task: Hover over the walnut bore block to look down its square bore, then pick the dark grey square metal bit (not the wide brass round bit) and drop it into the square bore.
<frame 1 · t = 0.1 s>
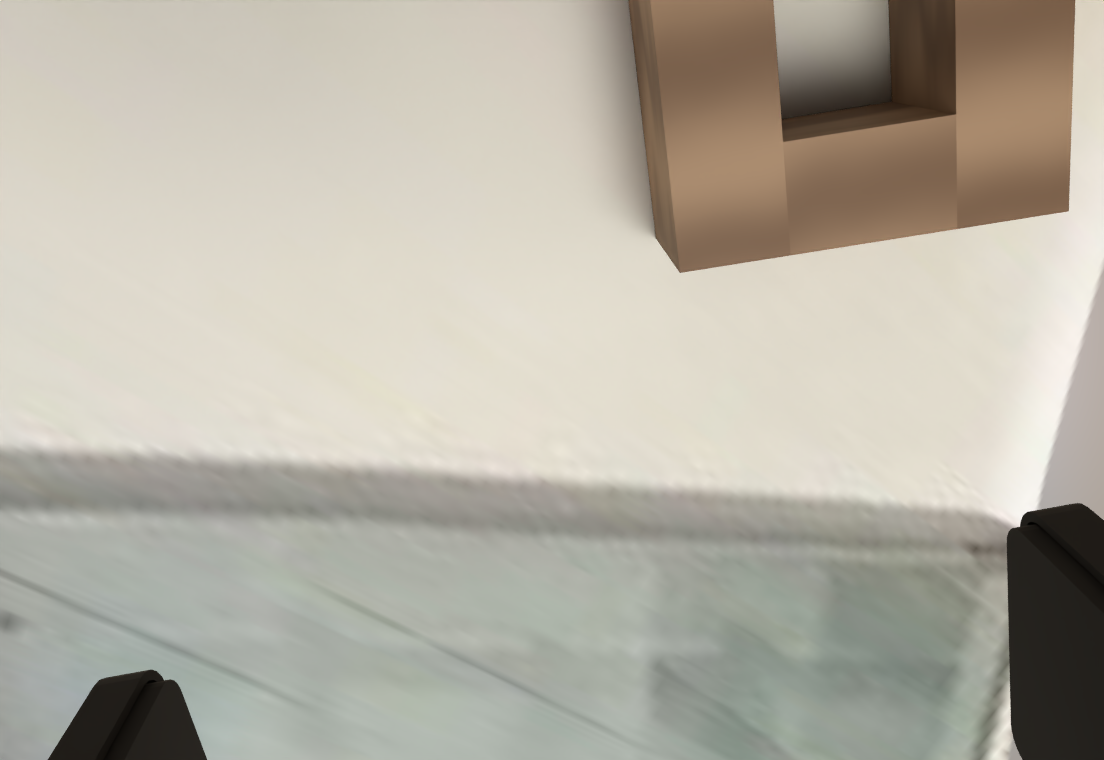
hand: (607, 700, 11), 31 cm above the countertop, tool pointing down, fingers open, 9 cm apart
bore block: (813, 34, 38), on the countertop
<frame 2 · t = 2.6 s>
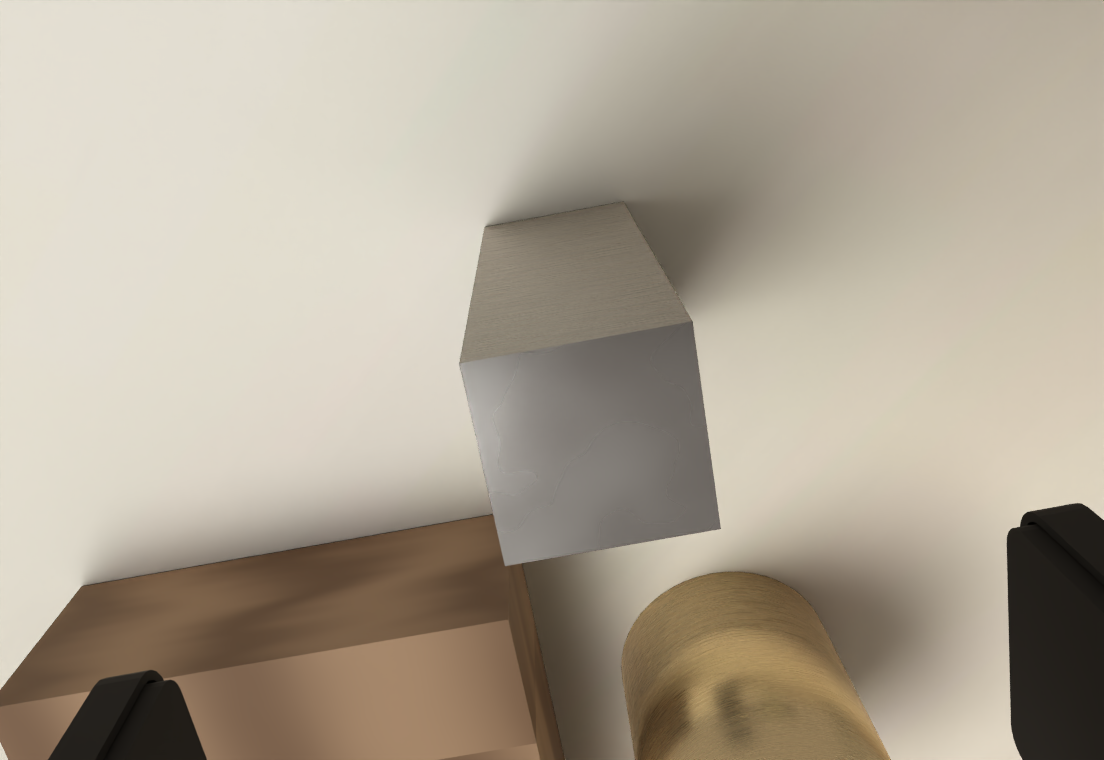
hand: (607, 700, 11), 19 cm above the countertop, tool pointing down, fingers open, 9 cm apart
square bit: (565, 281, 29), on the countertop
bore block: (348, 726, 34), on the countertop
round bit: (724, 662, 33), on the countertop
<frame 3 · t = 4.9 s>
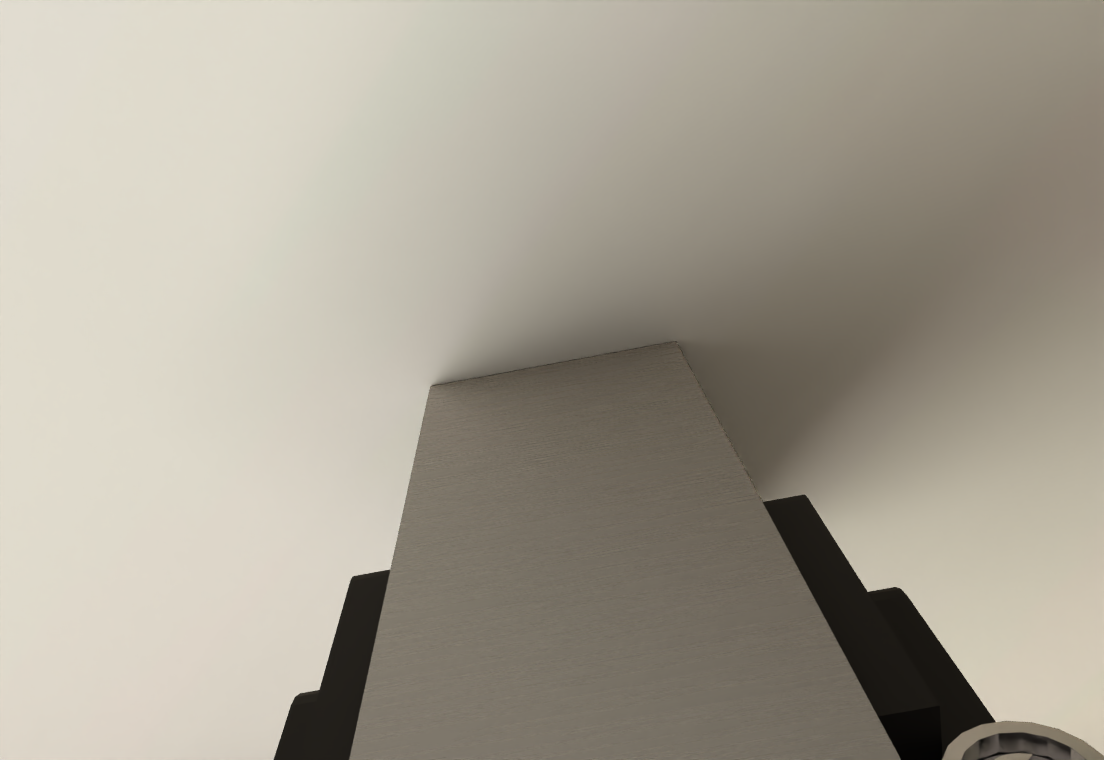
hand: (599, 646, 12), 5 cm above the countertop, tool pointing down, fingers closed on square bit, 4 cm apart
square bit: (573, 475, 16), on the countertop, touching gripper
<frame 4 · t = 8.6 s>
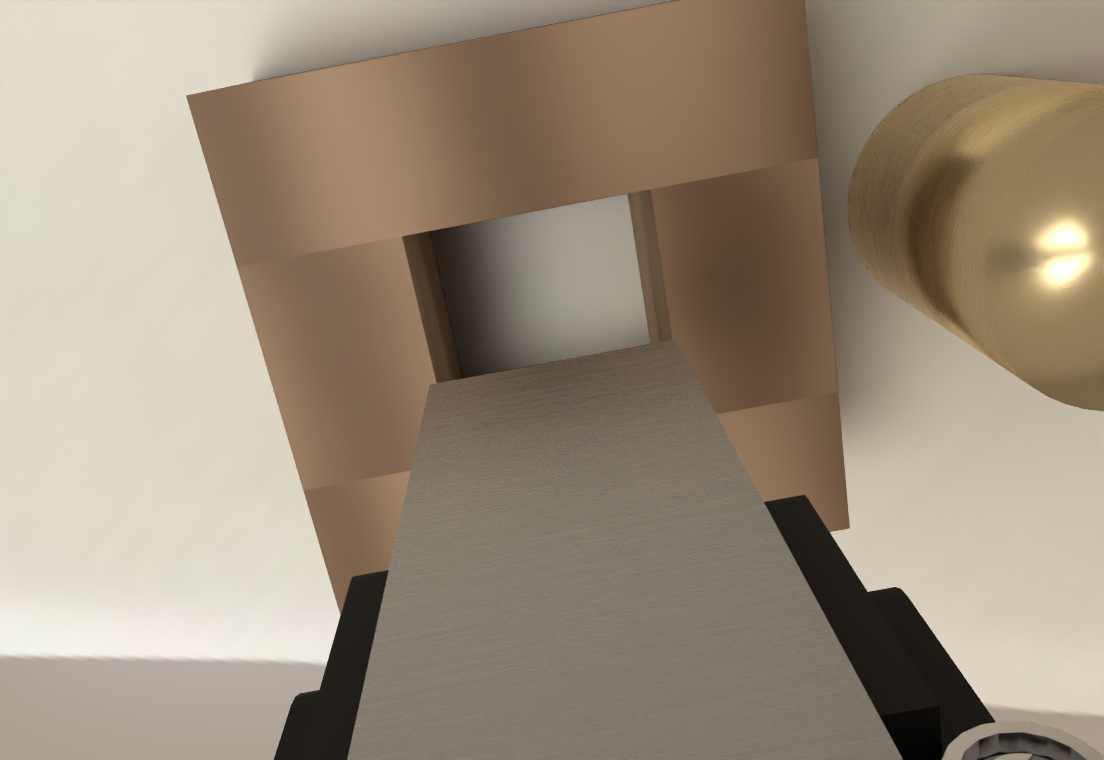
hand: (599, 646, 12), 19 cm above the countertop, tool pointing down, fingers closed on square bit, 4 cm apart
square bit: (573, 473, 16), point 14 cm above the countertop, touching gripper
bore block: (540, 274, 30), on the countertop
round bit: (962, 195, 30), on the countertop
when the fingers open (7 cm above the countertop, at t = 12.2 s): square bit drops 2 cm, resting in bore block.
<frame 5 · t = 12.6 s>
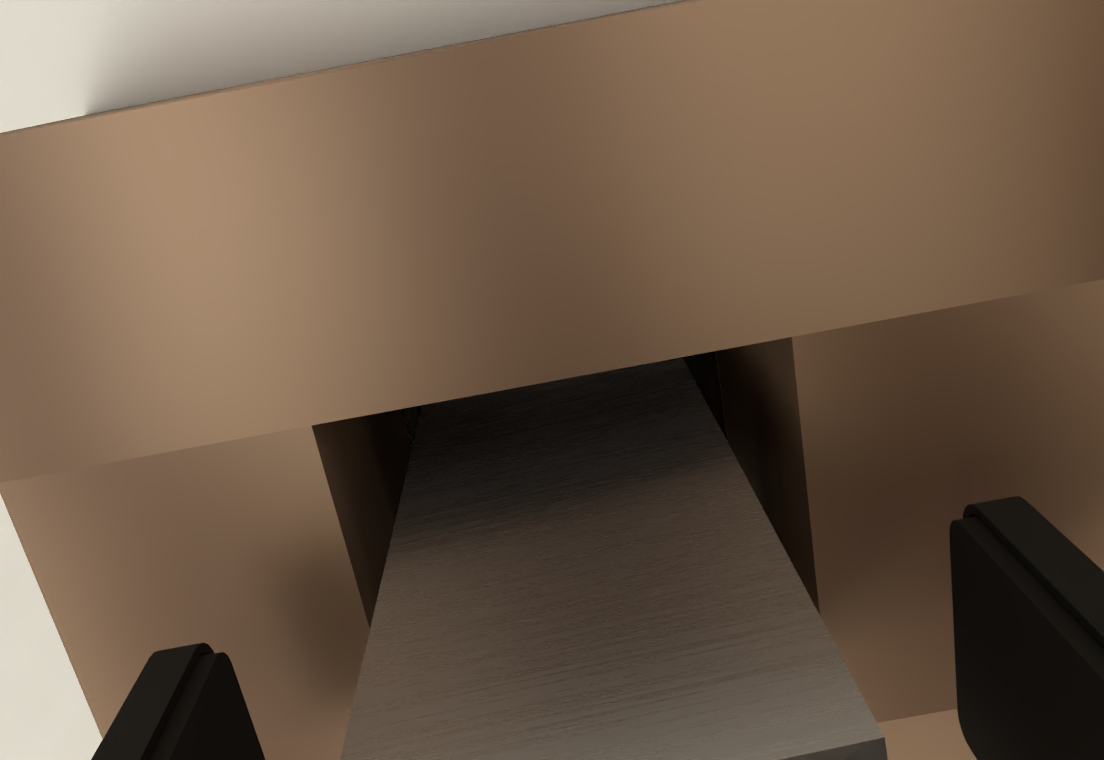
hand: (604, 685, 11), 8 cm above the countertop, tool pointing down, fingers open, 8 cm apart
square bit: (565, 416, 19), resting in bore block
bore block: (565, 419, 19), on the countertop
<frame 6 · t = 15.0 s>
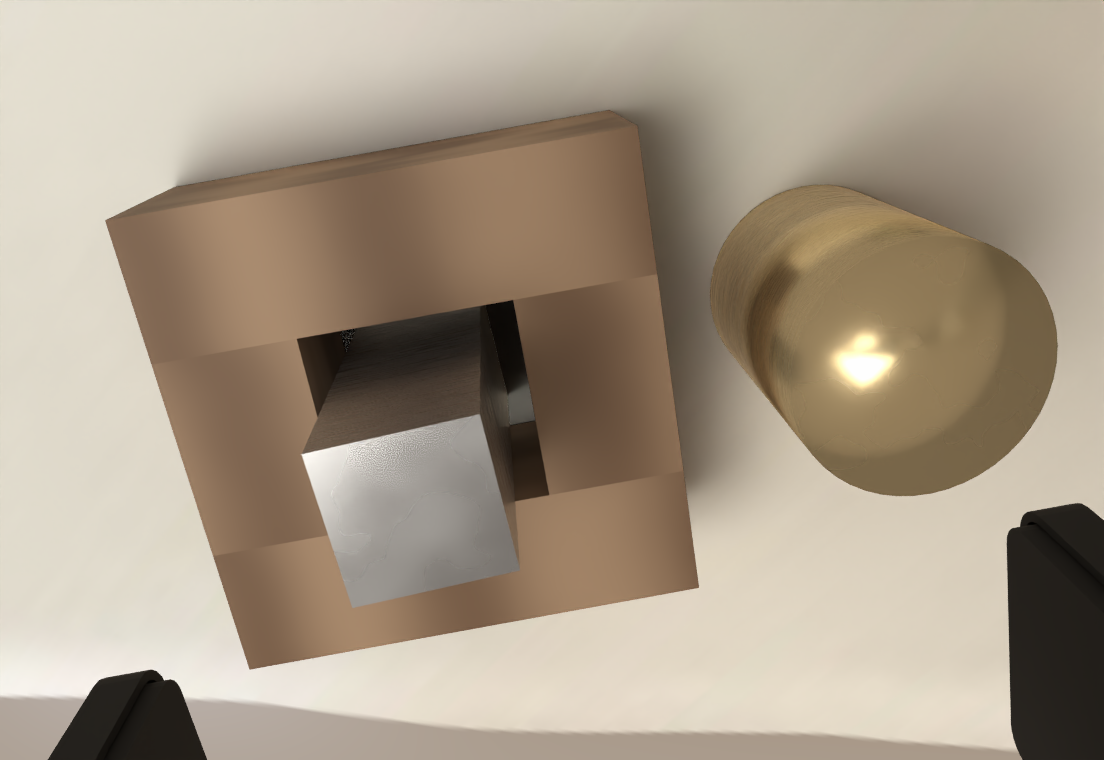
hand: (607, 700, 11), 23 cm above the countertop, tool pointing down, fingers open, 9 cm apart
square bit: (437, 353, 33), resting in bore block
bore block: (436, 355, 33), on the countertop
round bit: (811, 287, 34), on the countertop
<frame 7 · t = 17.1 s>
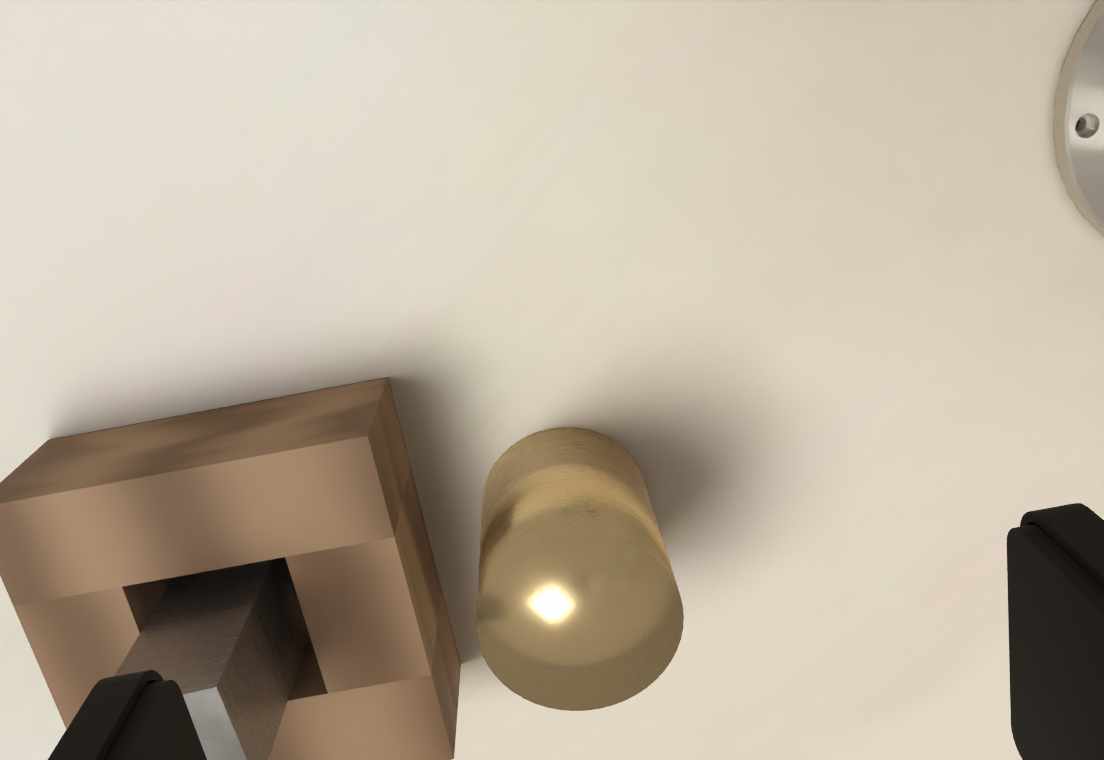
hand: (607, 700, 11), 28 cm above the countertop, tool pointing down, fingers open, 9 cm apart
square bit: (265, 557, 42), resting in bore block
bore block: (265, 558, 42), on the countertop
round bit: (564, 503, 42), on the countertop
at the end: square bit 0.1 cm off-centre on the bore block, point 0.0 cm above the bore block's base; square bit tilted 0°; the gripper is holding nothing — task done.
